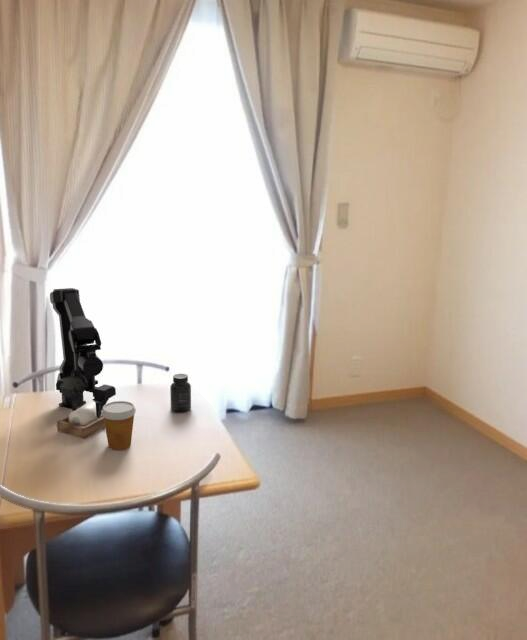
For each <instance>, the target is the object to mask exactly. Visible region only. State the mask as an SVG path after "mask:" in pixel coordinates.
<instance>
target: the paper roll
mask: <svg viewBox="0 0 527 640" xmlns="http://www.w3.org/2000/svg"><path fill="white" fill-rule="evenodd" d="M68 416H69V422H70V423H72V424H75V425H79V426H83V427H85V426H86V425H88V424H90V423H92V422H94V421H96V420H98V419H99V418H101V417H103V415H102V414H101V416H100V417H99V418H97V415H96V403H95V402H94V401H91V402H90V403H88V404H87V403H86V405H83V406H81V407H79V408H77V410H75V411H73V410H72V411H71V412H70V413H69V415H68Z"/></svg>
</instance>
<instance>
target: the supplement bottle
mask: <svg viewBox="0 0 527 640" xmlns="http://www.w3.org/2000/svg"><path fill="white" fill-rule="evenodd" d="M172 379H173V380H172V383H171V384H170V388H169V389H170V392H169V394H170V395H169V396H170V410H171V411H172V412H174V413H177V414H183V413H188V412H189V411H191V409H192V384H190V382H188V381H189V376H188V374H185V373H176V374H174V375H173V377H172Z"/></svg>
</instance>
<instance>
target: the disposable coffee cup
mask: <svg viewBox="0 0 527 640" xmlns="http://www.w3.org/2000/svg"><path fill="white" fill-rule="evenodd" d="M136 411H137V408H136V407H135V404H134V403H133V402H131V401H127V400H126V401H125V400H116V401H115V400H114V401H111V402H107V403H106V405H104V406H103V410H102V411H101V414H102V415H103V417H104V423H105V433H106V439H107V445H108V446H107V447H108V448H109V449H110V450H113V451H122V450H123V451H124V450H127V449H129V448H130V447H131V446H132V440H133V439H132V435H133V429H134V420H135V418H134V417H135V414H136Z"/></svg>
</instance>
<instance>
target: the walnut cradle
mask: <svg viewBox="0 0 527 640" xmlns="http://www.w3.org/2000/svg"><path fill="white" fill-rule="evenodd" d="M56 426H57V427H56V429H57V432H59V433H63V434H67V435H69V436H74V437H77V438H80V439H84V440H85V439H87V438H88V437H92V435H94V434H96V433H99V432H100V431H101V430H102V429H104V428H105V423H104V417H101V418H99V419H98V420H96V421H94V422H92V423H90V424H88V425H86V426H85V427H83V426H79V425H75V424H72V423H70V422H69V415H68V416H65V417H64V418H63V417H62V418H61V419H59V420H57V421H56Z"/></svg>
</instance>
